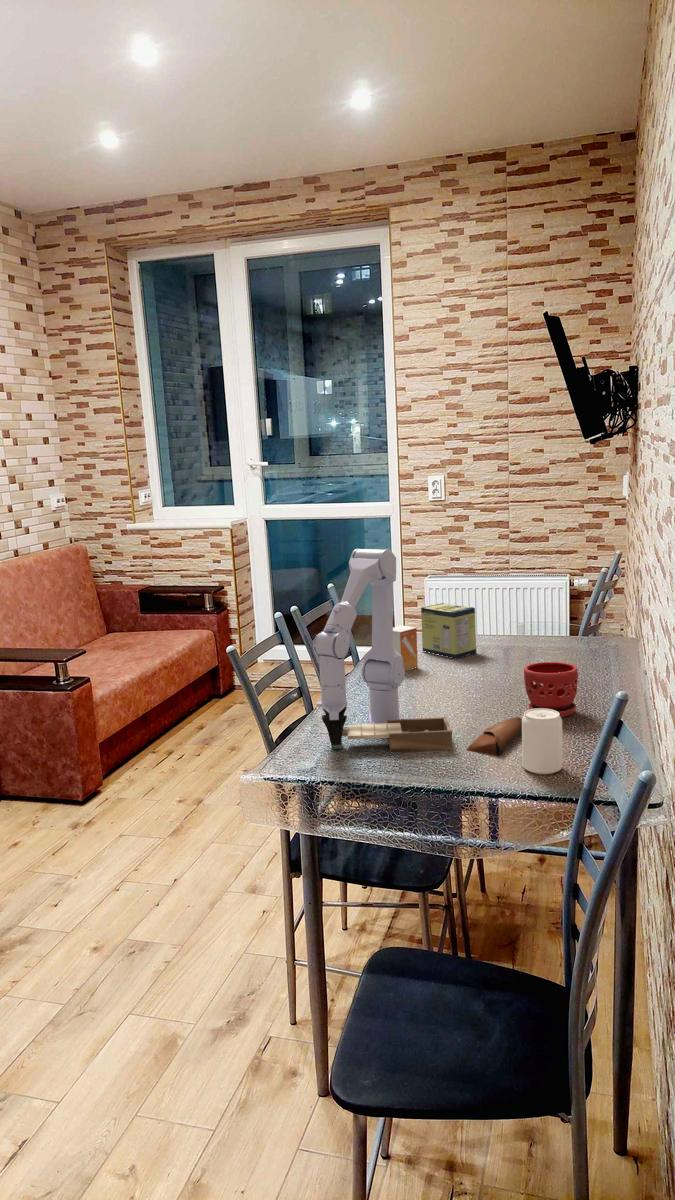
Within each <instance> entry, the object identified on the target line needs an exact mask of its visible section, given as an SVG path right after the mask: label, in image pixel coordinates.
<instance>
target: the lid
mask: <svg viewBox="0 0 675 1200" xmlns="http://www.w3.org/2000/svg"><path fill="white" fill-rule="evenodd" d="M389 733H402V729H401V725H400V723H382V724H374V723H373V724H370V723H364V724H362V723H359V724H348V725H347V728H343V731H342V737H347V740H367V739H385V738H386V739H388V738H390V736H389ZM330 745H331V744H330ZM342 748H343V739H342V740H341V745H331V750H336V749H337V750H338V749H339V750H341V749H342Z"/></svg>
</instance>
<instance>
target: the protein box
mask: <svg viewBox="0 0 675 1200" xmlns="http://www.w3.org/2000/svg"><path fill="white" fill-rule="evenodd" d="M420 612H421V641H422V644H421V645H422V652H423V651H426V652H430V653H434V654H439V655H443V656H448V657H452V658H451V659H453V658H457V659H459V658H458V657H460V658H463V657H462V656H464V657H467V656H470V655H469V654H471V655H474V654H477V631H476V629H477V628H476V626H477V625H476V608H475V607H474V606H473V607H472V606H464V605H457V604H450V603H444V602H440V603H437V604H433V605H432V604H431V605H427V606H423V607H421V608H420ZM473 653H474V654H473ZM434 654H433V655H434ZM439 655H438V656H439ZM466 655H467V656H466ZM443 656H442V657H443ZM448 657H447V658H448Z"/></svg>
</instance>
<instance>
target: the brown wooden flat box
mask: <svg viewBox="0 0 675 1200" xmlns="http://www.w3.org/2000/svg"><path fill="white" fill-rule="evenodd" d="M387 723H400V725H401V729H402V733H389V736H390V738H387V740H388V741H387V742H388V746H389V752H390V753H391V752H399V753H418V752H432V751H433V752H438V751H453V731H452V728H451V726H450V722H449V721H448V719H447V717H446V716H445V717H442V716H441V717H423V718H422V717H421V718H420V717H419V718H404V719H403V718H401V719H398V720H387ZM391 754H392V753H391Z"/></svg>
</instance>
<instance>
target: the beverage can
mask: <svg viewBox="0 0 675 1200" xmlns="http://www.w3.org/2000/svg"><path fill="white" fill-rule="evenodd" d="M521 719H522V732H521V755H522V759H521V761H522V762H521V763H522V768H524V770H525V771H528V772H530V773H533V774H538V775H550V774H554V773H556V772H557V773H558V772H559V771H561V770H562V768H563V718H562V717H560V713H559V712H557V711H555V710H552V709H546V708H535V709H530V710H529V709H527V710H525V711H524V713H523V716H522V717H521Z"/></svg>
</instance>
